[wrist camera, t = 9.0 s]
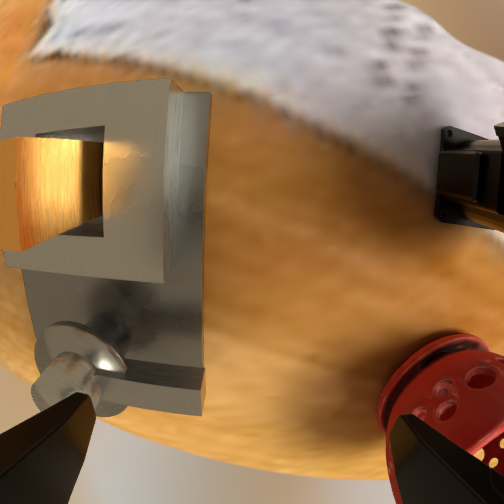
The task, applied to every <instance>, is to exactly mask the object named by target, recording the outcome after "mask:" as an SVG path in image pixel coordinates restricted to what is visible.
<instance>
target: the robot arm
mask: <svg viewBox="0 0 504 504" xmlns="http://www.w3.org/2000/svg"><path fill="white" fill-rule="evenodd" d="M494 129H495V132H496V136H498V137H499V140H489V139H486V138H483V137H480V136H478V135H475V134H472V133H469V132H466V131H463V130H460V129H457V128H454V127H451V126H445V127H443V128H442V130H441V145H440V154H439V165H438V176H437V186H436V190H437V193H436V201H435V209H434V217H435V219H436V220H437V221H440V222H444V223H452V224H459V225H465V226H472V227H479V228H485V229H491V230H498V231H500V232H503V233H504V122H503V123H500V124H497V125H494ZM447 131H449V134H450V135H449V136H448V135H447ZM441 211H442V216H441V217H440V212H441ZM95 421H96V413H95V410H94V407H93V403H92V400H91V397H90V396H89V395H88V394H85V393H81V392H75V393H73V394H71V395H70V396H68V397H66V398H65V399H63V400H61V401H59V402H57V403H56V404H54V405H52V406H50V407H49V408H47V409H45V410H43V411H42V412H40V413H38V414H36V415H34V416H33V417H31V418H29V419H27V420H25V421H24V422H22V423H20V424H18V425H16V426H14V427H13V428H11V429H9V430H7V431H5V432H3V433H2V434H0V504H68V502H69V499H70V496H71V494H72V491H73V488H74V486H75V483H76V481H77V478H78V475H79V473H80V470H81V468H82V465H83V463H84V460H85V456H86V453H87V449H88V445H89V442H90V438H91V435H92V431H93V428H94V424H95ZM389 441H390V447H391V452H392V458H393V464H394V471H395V476H396V481H397V485H398V488H399V492H400V495H401V499H402V503H403V504H504V475H502V474H500V473H499V472H497V471H496V470H494V469H493V468H490V467H489V466H488V465H486V464H485V463H483V462H482V461H480V460H479V459H477V458H476V457H474V456H473V455H472V454H470V453H469V452H467V451H466V450H464V449H463V448H461V447H460V446H458V445H457V444H455V443H454V442H452V441H451V440H450V439H448V438H447V437H445V436H444V435H442V434H441V433H440V432H438V431H437V430H435V429H434V428H432V427H431V426H430V425H428V424H427V423H425V422H424V421H422V420H421V419H420V418H418V417H417V416H415V415H414V414H412V413H406V414H400V415H399V416H398V417H397V419H396V421H395V423H394V425H393V427H392V429H391V431H390V434H389Z"/></svg>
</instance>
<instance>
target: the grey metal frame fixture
mask: <svg viewBox="0 0 504 504" xmlns="http://www.w3.org/2000/svg"><path fill="white" fill-rule="evenodd" d="M211 103H212V94H211V92H183V91H182V90H181V89H180V88H179V87H178V86H177V85H176V83H175V82H174V81H173V80H172V79H171V78H165V79H148V80H136V81H126V82H116V83H108V84H101V85H94V86H87V87H81V88H75V89H69V90H64V91H59V92H54V93H49V94H45V95H40V96H36V97H32V98H28V99H24V100H20V101H16V102H13V103H9V104H6V105H3V108H2V117H1V128H0V140H4V139H9V138H14V137H33V138H53V139H69V140H82V141H93V142H104V151H103V216H100V217H98V218H96V219H93V220H91V221H88V222H86V223H84V224H81V225H79V226H77V227H74V228H72V229H70V230H67V231H65V232H63V233H61V234H58V235H56V236H54V237H52V238H49V239H47V240H45V241H43V242H41V243H39V244H37V245H34V246H32V247H30V248H28V249H26V250H24V251H22V252H18V251H6V250H4V255H5V262H6V267H12V268H20V269H22V274H23V280H24V285H25V291H26V296H27V301H28V305H29V310H30V314H31V319H32V323H33V327H34V331H35V335H36V338H37V340H36V343H35V360H36V364H37V367H38V369H39V372H40V374H41V375H40V377H39V378H38V379H37V380H36V381H35V383H34V384H33V385H32V387H31V394H32V398H33V400H34V402H35V404H36V406H37V407H38V409H40V411H41V412H42V411H43V410H45V409H47V408H49V407H50V406H52V405H54V404H56V403H57V402H59V401H61V400H63V399H65V398H66V397H68V396H70V395H71V394H73V393H75V392H81V393H85V394H88V395H89V396H90V397H91V400H92V403H93V407H94V410H95V413H96V416H98V417H110V416H114V415H117V414H119V413H121V412H122V411H124V410H125V409H126V407H127V406H132V407H138V408H143V409H149V410H156V411H163V412H170V413H177V414H185V415H194V416H202V412H203V406H204V400H205V395H206V385H205V368H204V336H203V291H204V236H205V206H206V183H207V163H208V146H209V130H210V116H211Z"/></svg>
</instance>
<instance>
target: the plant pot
mask: <svg viewBox="0 0 504 504" xmlns="http://www.w3.org/2000/svg"><path fill="white" fill-rule="evenodd" d="M406 413H412V414H414V415H415V416H417V417H418V418H420V419H421V420H422V421H424V422H425V423H427V424H428V425H430V426H431V427H432V428H434V429H435V430H437V431H438V432H440V433H441V434H442V435H444V436H445V437H447V438H448V439H450V440H451V441H452V442H454V443H455V444H457V445H458V446H460V447H461V448H463V449H464V450H466V451H467V452H469V453H470V454H472V455H473V454H475V453H476V452H477V451H478V450H480V449H481V448H482V449H483V450H484V453H485V456H484V459H483V460H482V462H483V463H485V464H486V465H488V466H489V462H490V460H491V459H493V458H497V459H498V464H497V466H495V467H494V468H493V469H494V470H496V471H497V472H499V473H500V474H502V475H504V448H503V449H502V448H501V447H500V442H501V440H502V439H503V438H504V356H501V355H499V354H496V353H492V352H490V350H489V348H488V346H487V344H486V343H485V342H484V341H483V340H482V339H480V338H478V337H476V336H474V335H470V334H455V335H450V336H446V337H443V338H440V339H438V340H436V341H433V342H431V343H429V344H428V345H426V346H424V347H423V348H421V349H420V350H418V351H417V352H415V353H414V354H413V355H412V356H411V357H409V358H408V359H407V360H406V361H405V362H404V363H403V364H402V365H401V366H400V367H399V368H398V369H397V370H396V372H395V373H394V374H393V375H392V377H391V378H390V379H389V381H388V383H387V384H386V386H385V388H384V390H383V392H382V394H381V396H380V399H379V402H378V407H377V420H378V424H379V426H380V428H381V430H382V431H383V433H385V434H386V461H387V468H388V475H389V479H390V483H391V488H392V492H393V495H394V498H395V501H396V504H403V503H402V499H401V495H400V492H399V488H398V485H397V481H396V476H395V471H394V464H393V458H392V452H391V447H390V441H389V434H390V431H391V429H392V427H393V425H394V423H395V421H396V419H397V417H398V416H399V415H400V414H406Z"/></svg>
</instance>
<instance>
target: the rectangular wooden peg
mask: <svg viewBox="0 0 504 504" xmlns="http://www.w3.org/2000/svg"><path fill="white" fill-rule="evenodd" d="M103 151H104V142H93V141H82V140H69V139H53V138H33V137H14V138H9V139H4V140H0V250H6V251H18V252H22V251H24V250H26V249H28V248H30V247H32V246H34V245H37V244H39V243H41V242H43V241H45V240H47V239H49V238H52V237H54V236H56V235H58V234H61V233H63V232H65V231H67V230H70V229H72V228H74V227H77V226H79V225H81V224H84V223H86V222H88V221H91V220H93V219H96V218H98V217H100V216H103Z"/></svg>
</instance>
